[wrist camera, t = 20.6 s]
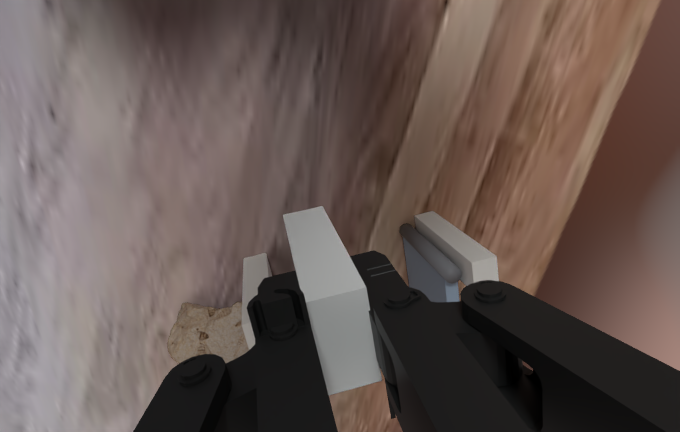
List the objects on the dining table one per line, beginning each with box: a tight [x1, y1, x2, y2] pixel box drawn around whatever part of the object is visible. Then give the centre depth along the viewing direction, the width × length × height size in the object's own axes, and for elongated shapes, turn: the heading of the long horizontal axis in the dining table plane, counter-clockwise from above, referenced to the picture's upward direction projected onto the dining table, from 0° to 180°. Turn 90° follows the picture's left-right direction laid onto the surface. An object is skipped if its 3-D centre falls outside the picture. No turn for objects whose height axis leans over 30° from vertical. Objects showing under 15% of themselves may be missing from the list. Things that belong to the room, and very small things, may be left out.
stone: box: [168, 302, 249, 364], centre depth 47 cm, size 9×11×5 cm
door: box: [399, 223, 462, 302], centre depth 48 cm, size 3×16×13 cm, turn 10°
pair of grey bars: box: [242, 211, 499, 350], centre depth 44 cm, size 3×22×14 cm, turn 101°
